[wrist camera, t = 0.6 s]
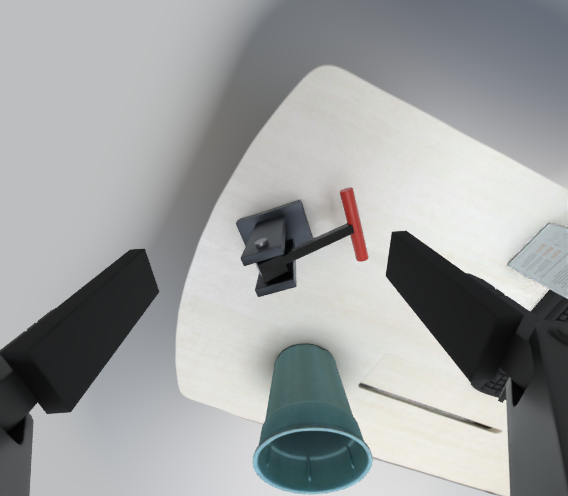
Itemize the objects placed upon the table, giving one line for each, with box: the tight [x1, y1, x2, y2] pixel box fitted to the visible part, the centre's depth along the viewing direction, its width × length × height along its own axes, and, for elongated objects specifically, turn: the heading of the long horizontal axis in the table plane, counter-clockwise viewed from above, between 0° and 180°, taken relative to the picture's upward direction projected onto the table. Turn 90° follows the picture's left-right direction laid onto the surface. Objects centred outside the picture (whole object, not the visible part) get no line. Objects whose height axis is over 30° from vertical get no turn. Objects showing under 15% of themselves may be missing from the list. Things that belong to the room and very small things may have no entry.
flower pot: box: [253, 344, 373, 494], centre depth 40 cm, size 16×16×16 cm
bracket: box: [236, 200, 313, 297], centre depth 31 cm, size 10×7×13 cm
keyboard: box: [471, 290, 568, 400], centre depth 42 cm, size 30×11×2 cm, turn 164°
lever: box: [256, 188, 368, 282], centre depth 27 cm, size 13×9×2 cm
